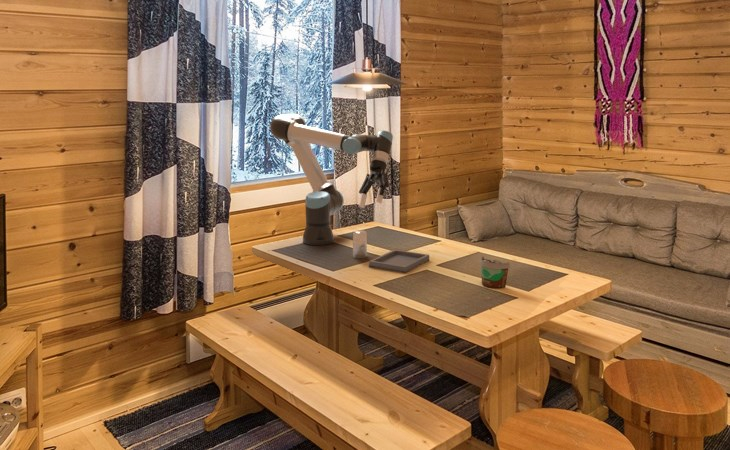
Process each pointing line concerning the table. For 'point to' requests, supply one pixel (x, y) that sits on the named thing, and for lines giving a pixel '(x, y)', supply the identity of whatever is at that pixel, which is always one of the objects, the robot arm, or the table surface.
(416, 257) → the slate tray
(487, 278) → the food container
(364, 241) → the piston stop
